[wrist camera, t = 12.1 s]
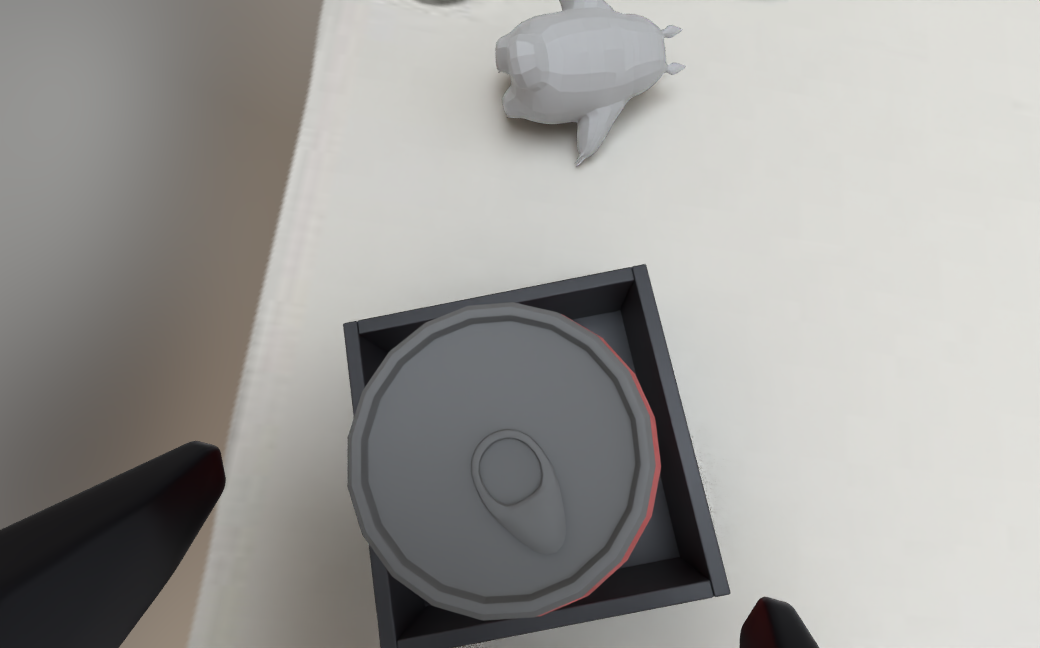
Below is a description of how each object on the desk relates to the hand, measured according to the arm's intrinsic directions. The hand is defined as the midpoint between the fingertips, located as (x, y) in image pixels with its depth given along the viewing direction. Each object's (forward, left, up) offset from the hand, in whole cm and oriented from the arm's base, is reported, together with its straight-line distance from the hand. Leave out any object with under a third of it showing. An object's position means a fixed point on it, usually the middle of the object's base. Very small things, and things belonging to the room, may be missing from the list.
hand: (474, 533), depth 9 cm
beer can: (+1, +1, -13) cm, 13 cm away
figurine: (+2, +16, -10) cm, 19 cm away
